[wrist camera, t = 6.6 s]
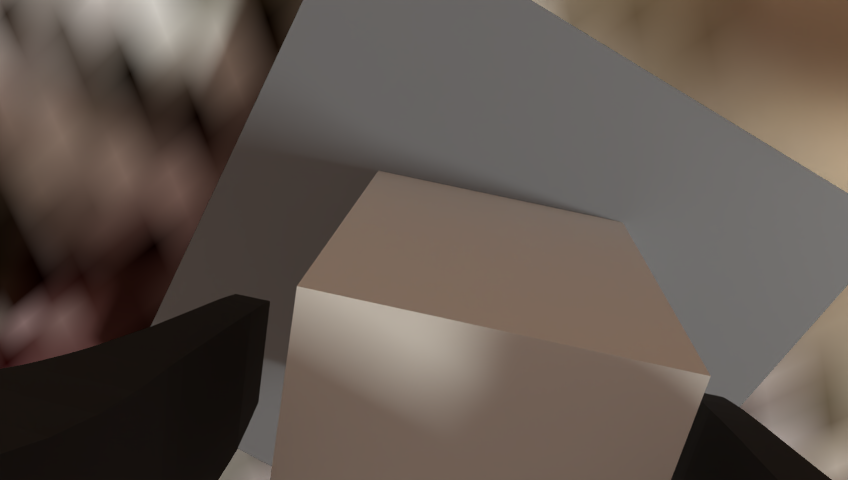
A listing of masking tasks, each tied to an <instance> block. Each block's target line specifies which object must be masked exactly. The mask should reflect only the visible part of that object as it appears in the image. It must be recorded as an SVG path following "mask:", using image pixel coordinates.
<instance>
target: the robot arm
mask: <svg viewBox="0 0 848 480" xmlns="http://www.w3.org/2000/svg"><path fill="white" fill-rule="evenodd" d="M269 307H270V301H267V300H263V299H258V298H253V297H249V296H244V295H239V294H234V295H230V296H227V297H224V298H221V299H218V300H216V301H213V302H211V303H208V304H206V305H203V306H201V307H198V308H196V309H193V310H191V311H189V312H186V313H184V314H181V315H179V316H176V317H174V318H171V319H169V320H166V321H164V322H161V323H159V324H156V325H154V326H151V327H148V328H145V329H143V330H140V331H137V332H134V333H131V334H128V335H125V336H123V337H120V338H117V339H114V340H111V341H108V342H105V343H102V344H100V345H97V346H93V347H90V348H87V349H83V350H80V351H76V352H73V353H69V354H66V355H62V356H58V357H54V358H50V359H46V360H42V361H38V362H33V363H29V364H24V365H20V366H14V367H9V368H3V369H0V480H218V479H219V478H220V476H221V475H222V473H223V471H224V470H225V468H226V467H227V465H228V463H229V462H230V460H231V459H232V457H233V455H234V454H235V452H236V450H237V449H238V446H239V444H240V442H241V440H242V438H243V436H244V434H245V432H246V429H247V427H248V425H249V423H250V420H251V418H252V416H253V414H254V411H255V409H256V407H257V405H258V402H259V394H260V385H261V376H262V368H263V359H264V350H265V342H266V333H267V325H268V316H269ZM671 480H831V479H830V478H829V477H827V476H826V475H825V474H824V473H822V472H821V471H820V470H819V469H817V468H816V467H815V466H813V465H812V464H811V463H810V462H808V461H807V460H806V459H805V458H803V457H802V456H801V455H800V454H798V453H797V452H796V451H795V450H793V449H792V448H791V447H790V446H788V445H787V444H786V443H785V442H783V441H782V440H781V439H780V438H778V437H777V436H776V435H775V434H773V433H772V432H771V431H770V430H768V429H767V428H766V427H765V426H763V425H762V424H761V423H760V422H758V421H757V420H756V419H754V418H753V417H752V416H750V415H749V414H748V413H746V412H745V411H744V410H742V409H741V408H740V407H738V406H737V405H735V404H734V403H732V402H731V401H729V400H727V399H726V398H724V397H721V396H716V395H711V394H707V393H704V395H703V398H702V400H701V403H700V405H699V408H698V411H697V413H696V416H695V418H694V421H693V424H692V426H691V429H690V431H689V434H688V437H687V439H686V442H685V444H684V447H683V450H682V452H681V455H680V458H679V460H678V463H677V465H676V468H675V471H674V473H673V476H672V478H671Z"/></svg>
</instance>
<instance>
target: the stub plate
mask: <svg viewBox="0 0 848 480" xmlns="http://www.w3.org/2000/svg"><path fill="white" fill-rule="evenodd" d="M378 171H382V172H387V173H392V174H396V175H401V176H406V177H411V178H415V179H420V180H425V181H430V182H434V183H439V184H444V185H449V186H453V187H458V188H463V189H467V190H472V191H477V192H482V193H486V194H491V195H496V196H501V197H505V198H510V199H515V200H519V201H524V202H529V203H534V204H538V205H543V206H548V207H553V208H557V209H562V210H567V211H572V212H576V213H581V214H586V215H590V216H595V217H600V218H605V219H609V220H614V221H619V222H623V224H624V226H625V227H626V229H627V231H628V233H629V234H630V236H631V238H632V240H633V241H634V243H635V245H636V247H637V248H638V250H639V252H640V253H641V255H642V257H643V259H644V260H645V262H646V264H647V266H648V267H649V269H650V271H651V273H652V274H653V276H654V278H655V280H656V281H657V283H658V285H659V287H660V288H661V290H662V292H663V294H664V295H665V297H666V299H667V301H668V302H669V304H670V306H671V308H672V309H673V311H674V313H675V315H676V316H677V318H678V320H679V322H680V323H681V325H682V327H683V329H684V330H685V332H686V334H687V336H688V337H689V339H690V341H691V343H692V344H693V346H694V348H695V350H696V351H697V353H698V355H699V357H700V358H701V360H702V362H703V364H704V365H705V367H706V369H707V371H708V372H709V374H710V376H711V377H710V379H709V382H708V385H707V387H706V390H705V392H704V393H707V394H711V395H716V396H721V397H724V398H726V399H727V400H729V401H731V402H732V403H734V404H735V405H737V406H738V407H740V406H741V405H742V404H743V403H744V402H745V400H746V399H747V398H748V397H749V396H750V395H751V394H752V393H753V391H754V390H755V389H756V388H757V387H758V386H759V385H760V383H761V382H762V381H763V380H764V379H765V378H766V377H767V376H768V374H769V373H770V372H771V371H772V370H773V369H774V368H775V367H776V365H777V364H778V363H779V362H780V361H781V360H782V359H783V357H784V356H785V355H786V354H787V353H788V352H789V351H790V350H791V348H792V347H793V346H794V345H795V344H796V343H797V342H798V341H799V339H800V338H801V337H802V336H803V335H804V334H805V333H806V331H807V330H808V329H809V328H810V327H811V326H812V325H813V324H814V322H815V321H816V320H817V319H818V318H819V317H820V316H821V314H822V313H823V312H824V311H825V310H826V309H827V308H828V307H829V305H830V304H831V303H832V302H833V301H834V300H835V299H836V298H837V296H838V295H839V294H840V293H841V292H842V291H843V290H844V288H845V287H846V286H847V285H848V193H846V192H845V191H843V190H841V189H840V188H838V187H836V186H835V185H833V184H832V183H830V182H828V181H827V180H825V179H823V178H822V177H820V176H818V175H817V174H815V173H813V172H812V171H810V170H809V169H807V168H805V167H804V166H802V165H800V164H799V163H797V162H795V161H794V160H792V159H791V158H789V157H787V156H786V155H784V154H782V153H781V152H779V151H777V150H776V149H774V148H772V147H771V146H769V145H768V144H766V143H764V142H763V141H761V140H759V139H758V138H756V137H754V136H753V135H751V134H750V133H748V132H746V131H745V130H743V129H741V128H740V127H738V126H736V125H735V124H733V123H732V122H730V121H728V120H727V119H725V118H723V117H722V116H720V115H718V114H717V113H715V112H713V111H712V110H710V109H709V108H707V107H705V106H704V105H702V104H700V103H699V102H697V101H695V100H694V99H692V98H691V97H689V96H687V95H686V94H684V93H682V92H681V91H679V90H677V89H676V88H674V87H672V86H671V85H669V84H668V83H666V82H664V81H663V80H661V79H659V78H658V77H656V76H654V75H653V74H651V73H650V72H648V71H646V70H645V69H643V68H641V67H640V66H638V65H636V64H635V63H633V62H631V61H630V60H628V59H627V58H625V57H623V56H622V55H620V54H618V53H617V52H615V51H613V50H612V49H610V48H609V47H607V46H605V45H604V44H602V43H600V42H599V41H597V40H595V39H594V38H592V37H590V36H589V35H587V34H586V33H584V32H582V31H581V30H579V29H577V28H576V27H574V26H572V25H571V24H569V23H568V22H566V21H564V20H563V19H561V18H559V17H558V16H556V15H554V14H553V13H551V12H550V11H548V10H546V9H545V8H543V7H541V6H540V5H538V4H536V3H535V2H533V1H531V0H303V2H302V4H301V6H300V8H299V10H298V12H297V14H296V16H295V19H294V21H293V23H292V25H291V27H290V29H289V31H288V34H287V36H286V38H285V40H284V42H283V44H282V46H281V49H280V51H279V53H278V55H277V57H276V59H275V61H274V64H273V66H272V68H271V70H270V72H269V74H268V76H267V79H266V81H265V83H264V85H263V87H262V89H261V91H260V94H259V96H258V98H257V100H256V102H255V104H254V106H253V108H252V111H251V113H250V115H249V117H248V119H247V121H246V123H245V126H244V128H243V130H242V132H241V134H240V136H239V138H238V141H237V143H236V145H235V147H234V149H233V151H232V153H231V156H230V158H229V160H228V162H227V164H226V166H225V168H224V171H223V173H222V175H221V177H220V179H219V181H218V183H217V186H216V188H215V190H214V192H213V194H212V196H211V198H210V200H209V203H208V205H207V207H206V209H205V211H204V213H203V215H202V218H201V220H200V222H199V224H198V226H197V228H196V230H195V233H194V235H193V237H192V239H191V241H190V243H189V245H188V248H187V250H186V252H185V254H184V256H183V258H182V260H181V263H180V265H179V267H178V269H177V271H176V273H175V275H174V277H173V280H172V282H171V284H170V286H169V288H168V290H167V292H166V295H165V297H164V299H163V301H162V303H161V305H160V307H159V310H158V312H157V314H156V316H155V318H154V320H153V322H152V325H151V326H154V325H156V324H159V323H161V322H164V321H166V320H169V319H171V318H174V317H176V316H179V315H181V314H184V313H186V312H189V311H191V310H193V309H196V308H198V307H201V306H203V305H206V304H208V303H211V302H213V301H216V300H218V299H221V298H224V297H227V296H230V295H234V294H239V295H244V296H249V297H253V298H258V299H263V300H267V301H270V307H269V316H268V325H267V333H266V342H265V350H264V359H263V368H262V376H261V385H260V394H259V402H258V405H257V407H256V409H255V411H254V414H253V416H252V418H251V420H250V423H249V425H248V427H247V429H246V432H245V434H244V436H243V438H242V440H241V442H240V444H239V446H238V449H240V450H242V451H243V452H245V453H247V454H249V455H251V456H253V457H255V458H257V459H259V460H260V461H262V462H264V463H266V464H268V465H270V466H272V463H273V456H274V449H275V441H276V434H277V427H278V420H279V412H280V405H281V398H282V391H283V383H284V376H285V369H286V361H287V354H288V347H289V340H290V332H291V325H292V318H293V311H294V303H295V296H296V289H297V285H298V284H299V282H300V281H301V280H302V278H303V277H304V275H305V274H306V272H307V271H308V270H309V268H310V267H311V265H312V264H313V263H314V261H315V260H316V258H317V257H318V255H319V254H320V253H321V251H322V250H323V248H324V247H325V246H326V244H327V243H328V241H329V240H330V238H331V237H332V236H333V234H334V233H335V231H336V230H337V229H338V227H339V226H340V224H341V223H342V221H343V220H344V219H345V217H346V216H347V214H348V213H349V212H350V210H351V209H352V207H353V206H354V204H355V203H356V202H357V200H358V199H359V197H360V196H361V195H362V193H363V192H364V190H365V189H366V187H367V186H368V185H369V183H370V182H371V180H372V179H373V178H374V176H375V175H376V173H377V172H378Z"/></svg>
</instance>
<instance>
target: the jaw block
mask: <svg viewBox="0 0 848 480" xmlns="http://www.w3.org/2000/svg"><path fill="white" fill-rule="evenodd" d="M710 377H711V376H710V374H709V372H708V371H707V369H706V367H705V365H704V364H703V362H702V360H701V358H700V357H699V355H698V353H697V351H696V350H695V348H694V346H693V344H692V343H691V341H690V339H689V337H688V336H687V334H686V332H685V330H684V329H683V327H682V325H681V323H680V322H679V320H678V318H677V316H676V315H675V313H674V311H673V309H672V308H671V306H670V304H669V302H668V301H667V299H666V297H665V295H664V294H663V292H662V290H661V288H660V287H659V285H658V283H657V281H656V280H655V278H654V276H653V274H652V273H651V271H650V269H649V267H648V266H647V264H646V262H645V260H644V259H643V257H642V255H641V253H640V252H639V250H638V248H637V247H636V245H635V243H634V241H633V240H632V238H631V236H630V234H629V233H628V231H627V229H626V227H625V226H624V224H623V222H619V221H614V220H609V219H605V218H600V217H595V216H590V215H586V214H581V213H576V212H572V211H567V210H562V209H557V208H553V207H548V206H543V205H538V204H534V203H529V202H524V201H519V200H515V199H510V198H505V197H501V196H496V195H491V194H486V193H482V192H477V191H472V190H467V189H463V188H458V187H453V186H449V185H444V184H439V183H434V182H430V181H425V180H420V179H415V178H411V177H406V176H401V175H396V174H392V173H387V172H382V171H378V172H377V173H376V175H375V176H374V178H373V179H372V180H371V182H370V183H369V185H368V186H367V187H366V189H365V190H364V192H363V193H362V195H361V196H360V197H359V199H358V200H357V202H356V203H355V204H354V206H353V207H352V209H351V210H350V212H349V213H348V214H347V216H346V217H345V219H344V220H343V221H342V223H341V224H340V226H339V227H338V229H337V230H336V231H335V233H334V234H333V236H332V237H331V238H330V240H329V241H328V243H327V244H326V246H325V247H324V248H323V250H322V251H321V253H320V254H319V255H318V257H317V258H316V260H315V261H314V263H313V264H312V265H311V267H310V268H309V270H308V271H307V272H306V274H305V275H304V277H303V278H302V280H301V281H300V282H299V284H298V285H297V289H296V296H295V303H294V311H293V318H292V325H291V332H290V340H289V347H288V354H287V361H286V369H285V376H284V383H283V391H282V398H281V405H280V412H279V420H278V427H277V434H276V441H275V449H274V456H273V463H272V470H271V478H270V480H671V478H672V476H673V473H674V471H675V468H676V465H677V463H678V460H679V458H680V455H681V452H682V450H683V447H684V444H685V442H686V439H687V437H688V434H689V431H690V429H691V426H692V424H693V421H694V418H695V416H696V413H697V411H698V408H699V405H700V403H701V400H702V398H703V395H704V392H705V390H706V387H707V385H708V382H709V379H710Z"/></svg>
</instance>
